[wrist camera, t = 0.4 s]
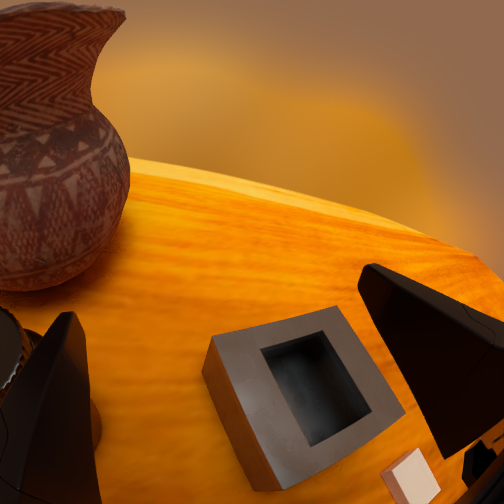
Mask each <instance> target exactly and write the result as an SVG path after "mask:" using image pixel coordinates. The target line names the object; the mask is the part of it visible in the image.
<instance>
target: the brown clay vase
mask: <svg viewBox="0 0 504 504" xmlns="http://www.w3.org/2000/svg"><path fill="white" fill-rule="evenodd" d="M125 20H126V17H125V11H124V10H121V9H115V8H113V7H109V6H103V5H92V6H89V5H75V4H73V3H68V2H35V3H34V2H33V3H26V4H21V5H16V6H11V7H8V8H5V9H2V10H0V290H9V291H35V290H40V289H44V288H48V287H52V286H56V285H60V284H62V283H64V282H65V281H67V280H69V279H71V278H73V277H75V276H77V275H78V274H80V273H81V272H82V271H84V270H85V269H87V268H88V267H90V265H91V264H92V263H93V262H94V261H95V260H96V259H97V257H98V256H99V255H100V254H101V252H102V251H103V249H104V248H105V247H106V245H107V244H108V243H109V241H110V239H111V238H112V236H113V234H114V232H115V230H116V228H117V225H118V223H119V220H120V217H121V214H122V211H123V207H124V205H125V202H126V200H127V196H128V192H129V188H130V164H129V160H128V157H127V153H126V150H125V148H124V145H123V142H122V140H121V138H120V136H119V135H118V133H117V131H116V129H115V128H114V127H113V125H112V124H111V123H110V122H109V120H108V119H107V118H106V117H105V116H104V115H103V114H102V113H101V112H100V111H99V110H98V109H97V108H96V107H95V106H94V105H93V103H92V97H91V91H90V88H91V80H92V76H93V72H94V69H95V65H96V62H97V58H98V56H99V54H100V52H101V51H102V48H103V47H104V45H105V43H106V42H107V41H108V40H109V38H110V37H111V36H112V35H113V34H114V33H115V31H116V30H117V29H118V27H120V25H121V24H122V23H123V22H124V21H125Z"/></svg>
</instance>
